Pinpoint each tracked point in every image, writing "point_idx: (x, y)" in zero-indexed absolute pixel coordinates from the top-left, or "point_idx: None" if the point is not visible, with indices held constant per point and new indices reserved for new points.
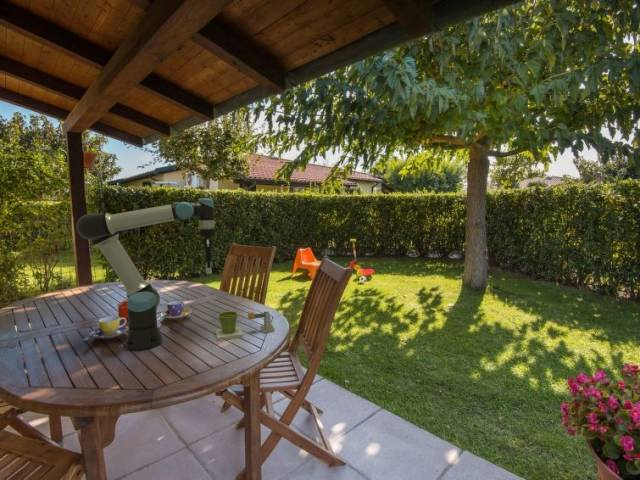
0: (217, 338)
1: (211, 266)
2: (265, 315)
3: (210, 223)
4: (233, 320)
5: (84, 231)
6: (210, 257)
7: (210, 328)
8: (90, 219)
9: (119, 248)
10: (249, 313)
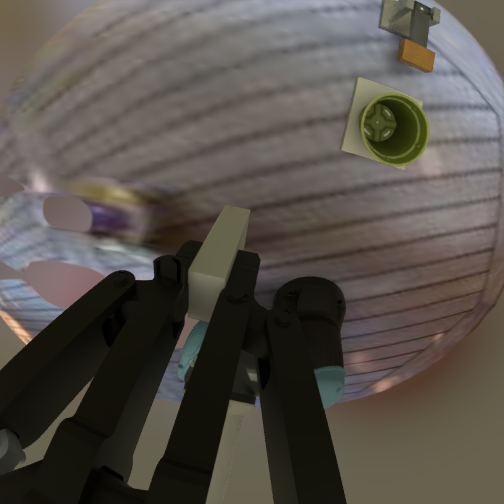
0: (403, 168)
1: (238, 242)
2: (437, 23)
3: None
4: (415, 120)
5: None
6: (304, 354)
7: (292, 152)
8: None
9: None
10: (410, 55)
